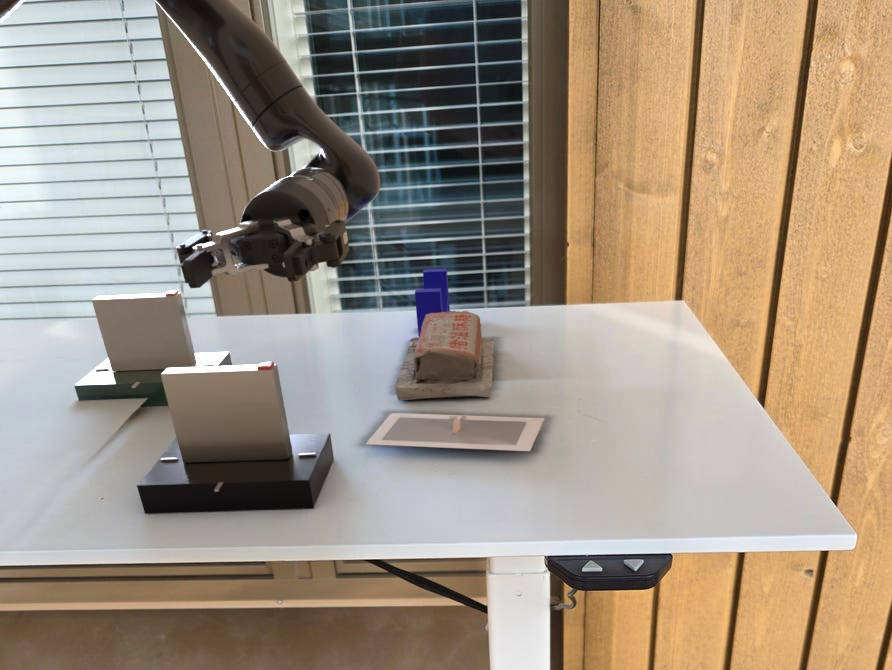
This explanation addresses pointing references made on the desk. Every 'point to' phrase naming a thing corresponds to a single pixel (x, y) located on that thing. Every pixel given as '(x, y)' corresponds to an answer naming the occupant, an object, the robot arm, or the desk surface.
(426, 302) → the blue stepped block
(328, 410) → the desk surface
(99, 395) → the green base plate
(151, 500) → the black square base
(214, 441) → the red-tipped upright panel
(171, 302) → the beige slab
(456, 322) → the brown block with base
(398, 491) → the desk surface
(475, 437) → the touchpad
